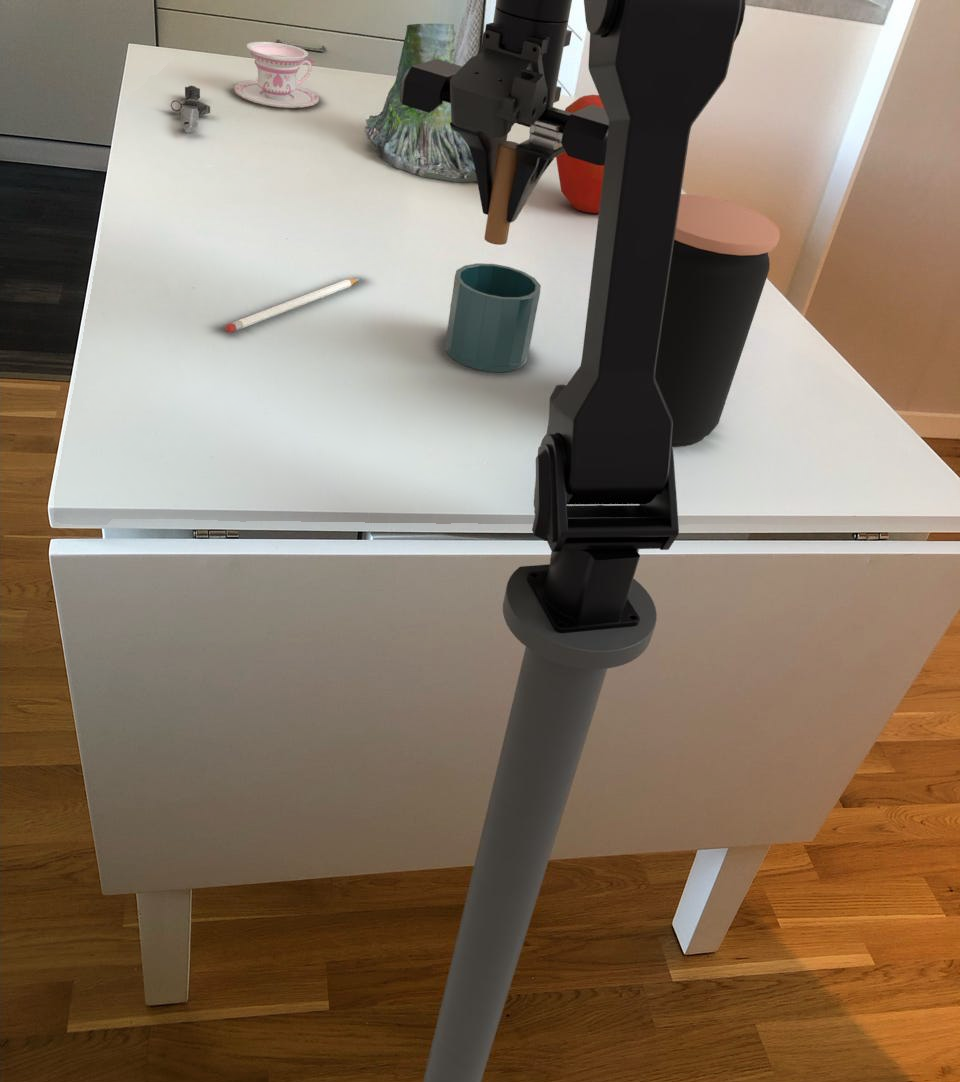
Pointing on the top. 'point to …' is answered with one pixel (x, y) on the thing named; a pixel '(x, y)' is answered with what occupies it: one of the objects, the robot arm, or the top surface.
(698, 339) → the coffee jar
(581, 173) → the apple
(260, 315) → the pencil
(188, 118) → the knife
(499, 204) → the tan wooden dowel
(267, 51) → the teacup
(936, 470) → the top surface
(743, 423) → the top surface
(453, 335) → the teal cup
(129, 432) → the top surface
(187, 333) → the top surface
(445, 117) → the tree stump
